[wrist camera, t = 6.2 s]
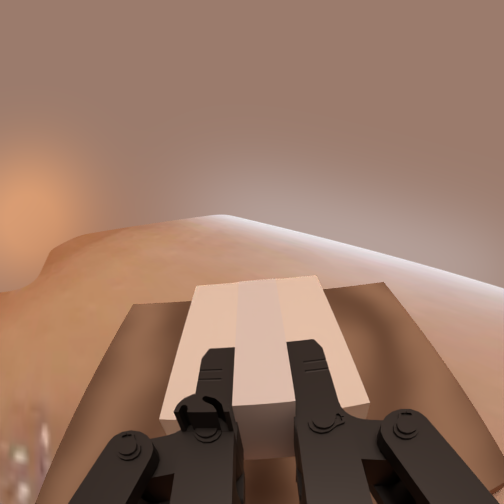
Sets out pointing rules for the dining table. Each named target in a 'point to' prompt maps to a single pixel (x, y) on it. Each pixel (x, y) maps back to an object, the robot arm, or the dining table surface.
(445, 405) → the board
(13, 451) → the dining table surface
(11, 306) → the dining table surface
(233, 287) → the tile
